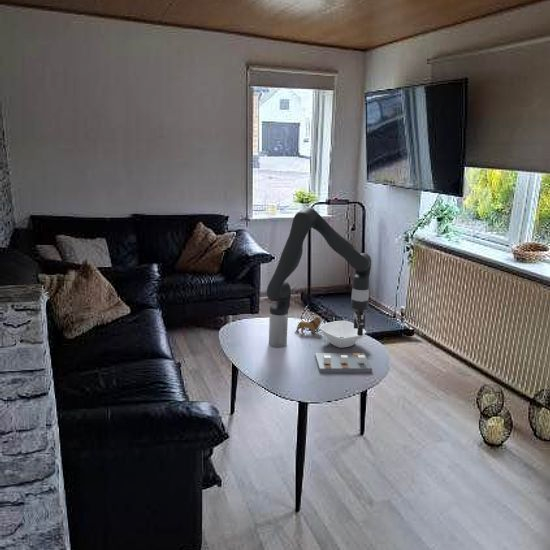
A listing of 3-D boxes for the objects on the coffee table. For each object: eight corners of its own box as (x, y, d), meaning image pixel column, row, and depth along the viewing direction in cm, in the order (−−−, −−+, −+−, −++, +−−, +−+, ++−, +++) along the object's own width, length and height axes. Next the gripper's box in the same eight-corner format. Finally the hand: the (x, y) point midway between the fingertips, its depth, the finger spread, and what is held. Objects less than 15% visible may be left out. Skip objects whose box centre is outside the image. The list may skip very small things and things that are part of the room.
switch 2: (340, 361, 231) (340, 355, 230) (346, 360, 231) (347, 355, 231) (341, 363, 229) (341, 357, 228) (347, 363, 229) (348, 357, 228)
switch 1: (323, 361, 230) (323, 355, 229) (329, 361, 231) (330, 355, 230) (324, 363, 228) (324, 357, 227) (330, 363, 228) (331, 357, 227)
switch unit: (314, 356, 240) (315, 352, 239) (363, 356, 242) (363, 352, 241) (319, 372, 225) (320, 368, 224) (371, 372, 226) (372, 367, 226)
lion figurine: (318, 330, 273) (319, 314, 270) (322, 333, 268) (323, 318, 265) (293, 332, 269) (293, 316, 266) (296, 335, 264) (296, 320, 261)
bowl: (343, 333, 269) (344, 318, 267) (370, 347, 253) (371, 332, 250) (313, 340, 258) (314, 325, 256) (338, 356, 242) (339, 340, 239)
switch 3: (357, 360, 232) (357, 355, 231) (363, 360, 232) (363, 355, 231) (358, 363, 229) (358, 357, 229) (364, 363, 230) (365, 357, 229)
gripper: (348, 293, 228) (346, 326, 233) (354, 303, 215) (352, 337, 219) (364, 293, 229) (362, 326, 233) (372, 302, 215) (369, 337, 219)
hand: (357, 331), depth 226 cm, fingers open, 8 cm apart
